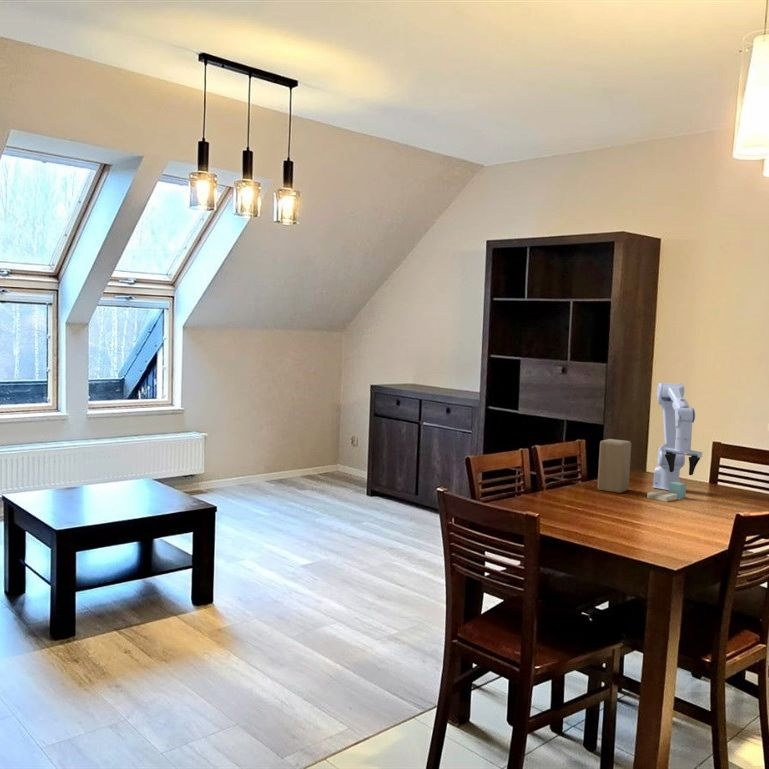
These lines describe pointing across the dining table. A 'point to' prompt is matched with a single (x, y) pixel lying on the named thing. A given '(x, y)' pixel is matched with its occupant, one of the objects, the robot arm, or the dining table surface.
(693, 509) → the dining table surface
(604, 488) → the wooden block
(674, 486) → the teal block
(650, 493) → the cream block
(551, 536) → the dining table surface
